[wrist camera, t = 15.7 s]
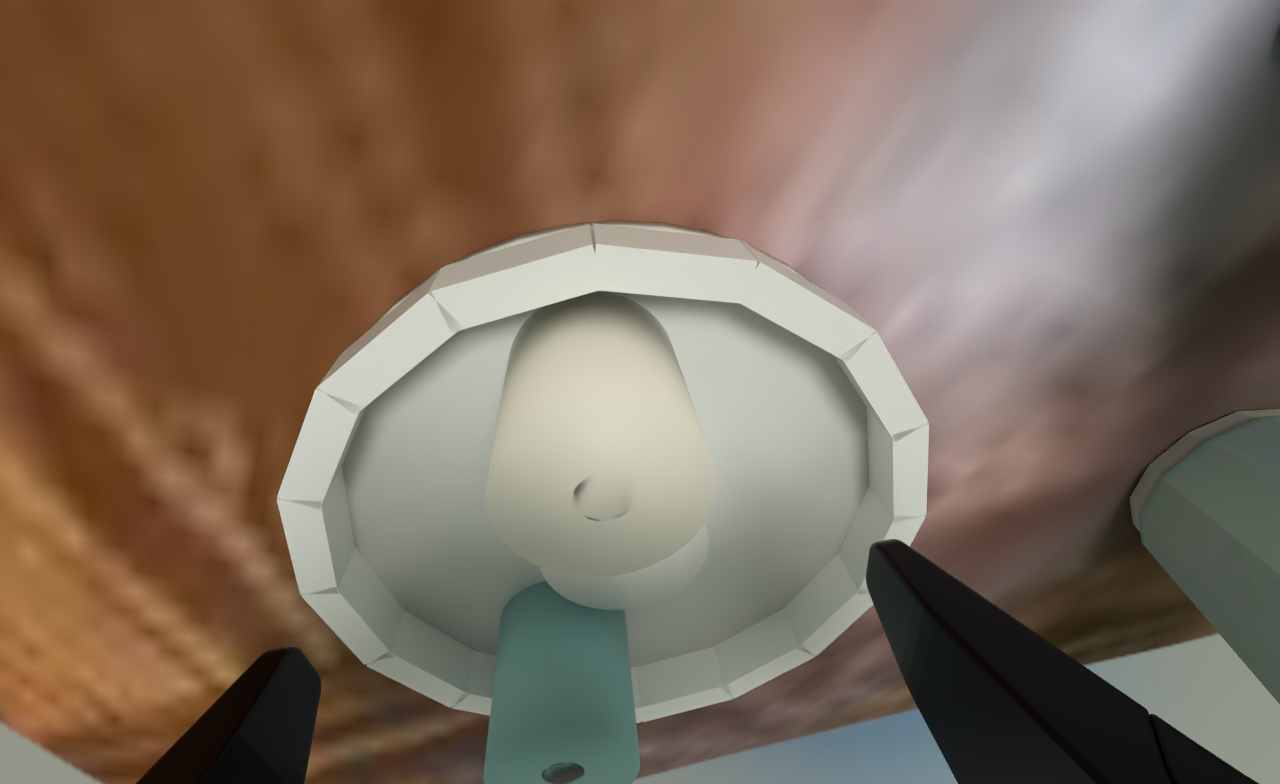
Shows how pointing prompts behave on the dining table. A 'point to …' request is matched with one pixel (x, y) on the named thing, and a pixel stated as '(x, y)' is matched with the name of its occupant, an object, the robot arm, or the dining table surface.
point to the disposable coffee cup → (1222, 530)
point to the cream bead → (597, 442)
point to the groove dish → (731, 422)
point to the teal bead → (561, 695)
